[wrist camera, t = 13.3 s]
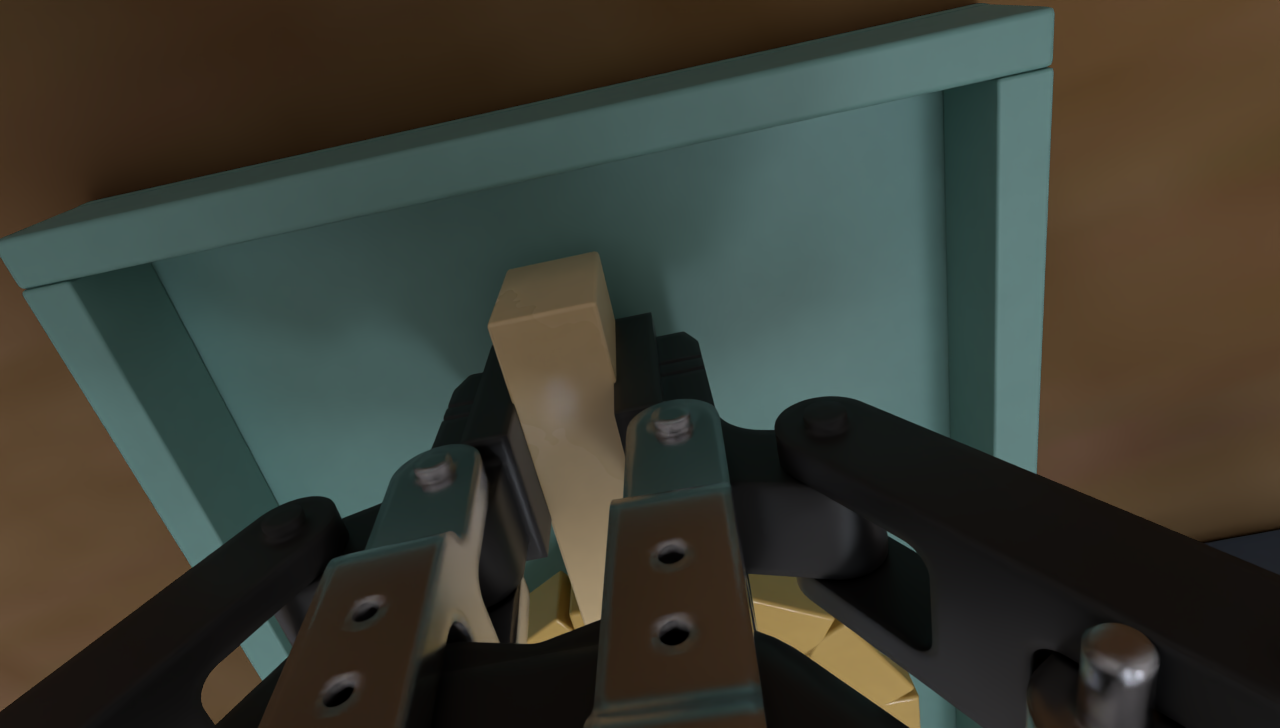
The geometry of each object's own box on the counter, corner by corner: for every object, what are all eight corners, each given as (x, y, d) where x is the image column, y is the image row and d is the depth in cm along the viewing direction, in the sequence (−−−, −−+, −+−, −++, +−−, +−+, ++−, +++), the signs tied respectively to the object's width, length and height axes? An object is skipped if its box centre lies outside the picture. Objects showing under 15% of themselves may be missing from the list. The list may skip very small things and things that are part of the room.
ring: (253, 322, 13) (183, 387, 11) (864, 192, 12) (918, 234, 10) (522, 883, 20) (512, 989, 18) (909, 820, 20) (946, 921, 18)
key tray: (89, 201, 13) (-13, 242, 11) (979, 2, 12) (1058, 4, 10) (464, 889, 23) (449, 983, 21) (979, 806, 22) (1020, 895, 20)
